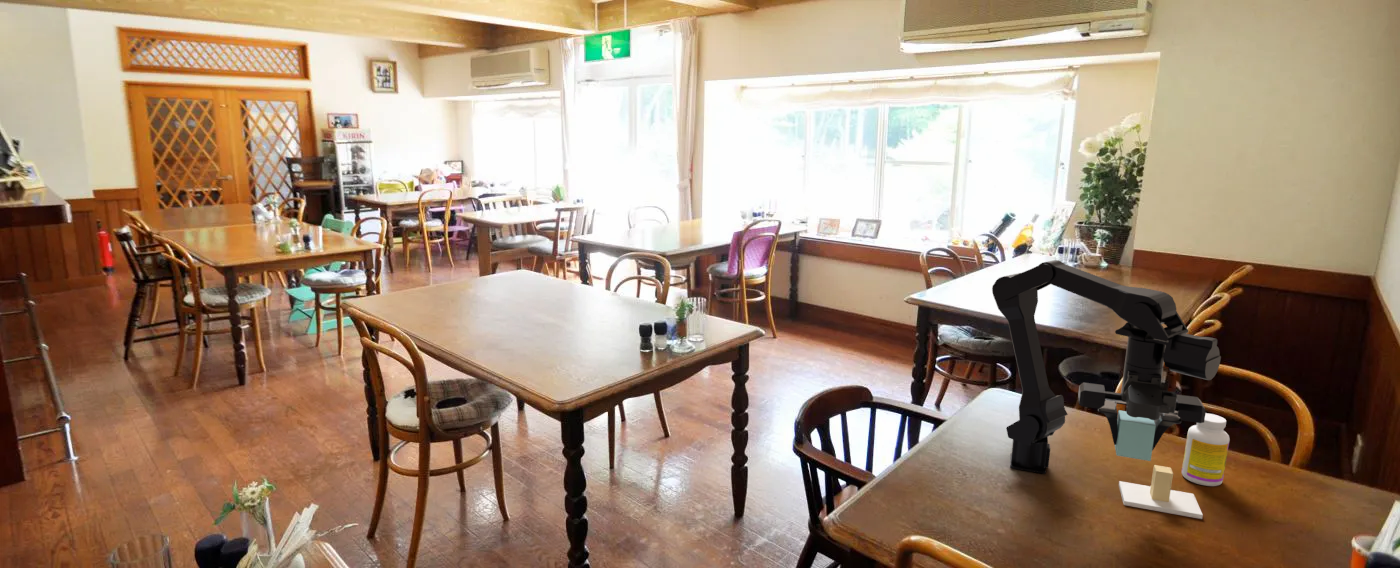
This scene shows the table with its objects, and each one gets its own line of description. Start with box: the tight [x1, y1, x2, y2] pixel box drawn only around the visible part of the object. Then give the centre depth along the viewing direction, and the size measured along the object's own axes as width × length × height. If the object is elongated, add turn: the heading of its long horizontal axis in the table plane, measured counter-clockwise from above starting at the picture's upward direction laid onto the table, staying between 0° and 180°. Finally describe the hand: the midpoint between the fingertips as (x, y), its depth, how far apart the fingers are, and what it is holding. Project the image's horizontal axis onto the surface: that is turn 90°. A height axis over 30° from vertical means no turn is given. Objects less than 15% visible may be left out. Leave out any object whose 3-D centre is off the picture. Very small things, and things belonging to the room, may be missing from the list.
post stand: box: [1118, 464, 1204, 520], centre depth 131 cm, size 12×8×6 cm, turn 66°
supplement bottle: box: [1181, 412, 1231, 487], centre depth 139 cm, size 7×7×13 cm
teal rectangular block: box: [1114, 409, 1156, 462], centre depth 128 cm, size 5×5×7 cm
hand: (1132, 446), depth 128 cm, fingers closed on teal rectangular block, 5 cm apart
